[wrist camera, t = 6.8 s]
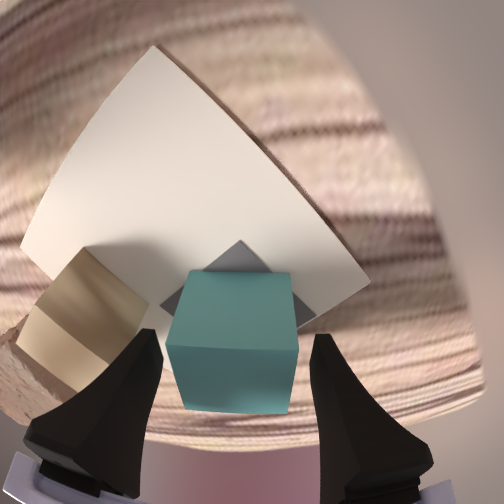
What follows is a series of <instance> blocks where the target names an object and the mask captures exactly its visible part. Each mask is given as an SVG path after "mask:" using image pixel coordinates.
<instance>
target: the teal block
mask: <svg viewBox="0 0 504 504" xmlns="http://www.w3.org/2000/svg"><path fill="white" fill-rule="evenodd" d="M165 346H166V350H167V353H168V357H169V360H170V363H171V367H172V370H173V373H174V376H175V380H176V383H177V386H178V389H179V392H180V395H181V398H182V401H183V404H184V407H185V409H187V410H197V411H209V412H223V413H243V414H287V412H288V407H289V402H290V397H291V391H292V386H293V381H294V375H295V370H296V364H297V359H298V353H299V344H298V335H297V327H296V318H295V310H294V302H293V294H292V286H291V278H290V273H257V272H211V271H189V274H188V277H187V280H186V282H185V285H184V288H183V291H182V294H181V297H180V300H179V303H178V306H177V309H176V312H175V315H174V318H173V321H172V324H171V327H170V330H169V333H168V336H167V339H166V342H165Z"/></svg>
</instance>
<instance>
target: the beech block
mask: <svg viewBox="0 0 504 504" xmlns="http://www.w3.org/2000/svg"><path fill="white" fill-rule="evenodd" d="M148 305H149V304H148V303H147V302H146V301H144V300H143V299H142V298H141V297H139V296H138V295H137V294H136V293H135V292H133V291H132V290H131V289H130V288H129V287H128V286H126V285H125V284H124V283H123V282H122V281H121V280H119V279H118V278H117V277H116V276H115V275H114V274H112V273H111V272H110V271H109V270H108V269H107V268H106V267H105V266H103V265H102V264H101V263H100V262H99V261H98V260H97V259H96V258H95V257H94V256H92V255H91V254H90V253H89V252H88V251H87V250H86V249H85V248H84V247H83V248H82V249H81V250H80V251H79V252H78V253H77V254H76V255H75V256H74V257H73V259H72V260H71V261H70V262H69V263H68V264H67V265H66V267H65V268H64V269H63V270H62V271H61V272H60V274H59V275H58V276H57V277H56V278H55V279H54V281H53V282H52V283H51V284H50V286H49V287H48V288H47V289H46V290H45V292H44V293H43V294H42V295H41V297H40V298H39V299H38V300H37V302H36V303H35V304H34V306H33V308H32V310H31V312H30V314H29V316H28V318H27V320H26V322H25V324H24V326H23V328H22V331H21V333H20V335H19V337H18V339H17V341H16V344H17V345H18V346H19V347H20V348H21V349H23V350H24V351H25V352H26V353H27V354H28V355H30V356H31V357H32V358H33V359H34V360H36V361H37V362H38V363H39V364H40V365H42V366H43V367H44V368H46V369H47V370H48V371H49V372H51V373H52V374H53V375H55V376H56V377H57V378H59V379H60V380H61V381H63V382H64V383H66V384H67V385H68V386H70V387H71V388H73V389H74V390H75V391H77V392H78V393H79V392H80V391H81V390H83V389H84V388H85V387H86V386H88V385H89V384H90V383H91V382H92V381H93V380H95V379H96V378H97V377H98V376H99V375H100V374H101V373H102V372H103V371H104V370H105V369H106V368H107V367H108V366H109V365H110V364H111V363H112V362H113V361H114V360H115V358H116V357H117V356H118V355H119V354H120V353H121V352H122V351H123V350H124V348H125V347H126V346H127V345H128V344H129V343H130V342H131V340H132V339H133V338H134V337H135V335H136V333H137V331H138V328H139V326H140V324H141V321H142V319H143V317H144V314H145V312H146V310H147V308H148Z"/></svg>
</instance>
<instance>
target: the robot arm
mask: <svg viewBox="0 0 504 504" xmlns="http://www.w3.org/2000/svg"><path fill="white" fill-rule="evenodd" d="M163 362H164V357H163V354H162V351H161V348H160V344H159V341H158V338H157V335H156V331H155V329H148V328H142V329H141V330H140V331H139V332H138V333H137V335H136V336H135V337H134V338H133V339H132V340H131V342H130V343H129V344H128V345H127V346H126V347H125V348H124V350H123V351H122V352H121V353H120V354H119V355H118V356H117V357H116V358H115V360H114V361H113V362H112V363H111V364H110V365H109V366H108V367H107V368H106V369H105V370H104V371H103V372H102V373H101V374H100V375H99V376H98V377H97V378H96V379H95V380H93V381H92V382H91V383H90V384H89V385H88V386H86V387H85V388H84V389H83V390H81V391H80V392H79V393H77V394H76V395H75V396H73V397H72V398H70V399H69V400H68V401H66V402H64V403H63V404H61V405H60V406H58V407H56V408H54V409H53V410H51V411H49V412H47V413H45V414H42V415H40V416H38V417H36V418H34V419H32V421H31V423H30V425H29V427H28V429H27V432H26V434H25V436H24V439H23V442H24V444H25V445H26V446H27V447H28V448H29V449H30V450H32V451H33V452H34V453H35V454H36V455H38V456H39V457H41V458H42V459H43V461H42V464H40V463H38V462H36V461H35V460H33V459H31V458H29V457H27V456H25V455H23V454H22V453H20V452H16V454H15V456H14V459H13V462H12V464H11V467H10V470H9V473H8V475H7V479H6V481H5V484H4V487H3V491H4V492H6V493H7V494H9V495H10V496H12V497H14V498H15V499H17V500H18V501H20V502H21V503H23V504H150V503H146V502H141V501H137V500H133V499H136V498H138V497H139V496H140V472H141V459H142V451H143V444H144V437H145V431H146V425H147V421H148V417H149V414H150V411H151V408H152V404H153V401H154V398H155V395H156V392H157V388H158V385H159V382H160V378H161V373H162V368H163ZM309 366H310V382H311V389H312V395H313V400H314V406H315V411H316V417H317V423H318V429H319V442H320V469H321V470H320V473H321V475H320V477H321V479H320V482H321V483H320V485H321V486H320V504H456V500H455V495H454V491H453V487H452V483H451V480H446V481H443V482H441V483H438V484H435V485H432V486H429V487H427V488H424V489H422V490H421V491H419V489H418V485H420V478H419V477H420V476H421V475H422V474H424V473H425V472H426V471H428V470H429V469H430V468H431V467H432V466H433V464H434V462H433V458H432V454H431V452H430V449H429V447H428V445H427V444H426V443H425V442H423V441H422V440H420V439H419V438H417V437H415V436H414V435H413V434H411V433H410V432H409V431H407V430H406V429H405V428H404V427H402V426H401V425H400V424H399V423H398V422H397V421H396V420H394V419H393V418H392V417H391V416H390V415H389V414H388V413H387V412H386V411H385V410H384V409H383V408H382V407H381V406H380V405H379V404H378V403H377V402H376V401H375V400H374V398H373V397H372V396H371V395H370V394H369V393H368V391H367V390H366V389H365V388H364V386H363V385H362V384H361V382H360V381H359V380H358V378H357V377H356V376H355V374H354V373H353V371H352V370H351V368H350V367H349V365H348V364H347V362H346V360H345V359H344V357H343V356H342V354H341V352H340V351H339V349H338V347H337V345H336V343H335V342H334V340H333V338H332V336H331V335H330V334H315V339H314V344H313V349H312V354H311V358H310V363H309Z"/></svg>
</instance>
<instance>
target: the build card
mask: <svg viewBox="0 0 504 504" xmlns="http://www.w3.org/2000/svg"><path fill="white" fill-rule="evenodd" d="M83 247H84V248H85V249H86V250H87V251H88V252H89V253H90V254H91V255H92V256H94V257H95V258H96V259H97V260H98V261H99V262H100V263H101V264H102V265H103V266H105V267H106V268H107V269H108V270H109V271H110V272H111V273H112V274H114V275H115V276H116V277H117V278H118V279H119V280H121V281H122V282H123V283H124V284H125V285H126V286H128V287H129V288H130V289H131V290H132V291H133V292H135V293H136V294H137V295H138V296H139V297H141V298H142V299H143V300H144V301H146V302H147V303H148V304H149V305H148V308H147V310H146V312H145V314H144V317H143V319H142V321H141V324H140V326H139V328H138V331H137V333H138V332H139V331H140V330H141V329H142V328H148V329H155V331H156V335H157V338H158V341H159V344H160V348H161V351H162V354H163V357H164V362H163V367H164V368H166V369H167V370H169V371H170V372H172V373H173V370H172V367H171V363H170V360H169V357H168V353H167V350H166V346H165V342H166V339H167V336H168V333H169V330H170V327H171V324H172V321H173V318H174V315H175V312H176V309H177V306H178V303H179V300H180V297H181V294H182V291H183V288H184V285H185V282H186V280H187V277H188V274H189V271H211V272H257V273H290V278H291V286H292V294H293V302H294V310H295V318H296V327H297V330H298V329H299V328H301V327H303V326H304V325H306V324H308V323H309V322H311V321H312V320H314V319H316V318H317V317H319V316H321V315H322V314H324V313H325V312H327V311H329V310H330V309H332V308H333V307H335V306H336V305H338V304H339V303H341V302H343V301H344V300H346V299H347V298H349V297H350V296H352V295H353V294H355V293H356V292H358V291H359V290H361V289H362V288H364V287H365V286H367V285H368V284H370V283H371V280H370V279H369V277H368V276H367V275H366V273H365V272H364V271H363V269H362V268H361V267H360V265H359V264H358V263H357V262H356V260H355V259H354V258H353V256H352V255H351V254H350V253H349V251H348V250H347V249H346V247H345V246H344V245H343V244H342V242H341V241H340V240H339V239H338V237H337V236H336V235H335V234H334V233H333V231H332V230H331V229H330V228H329V226H328V225H327V224H326V223H325V222H324V220H323V219H322V218H321V217H320V215H319V214H318V213H317V212H316V211H315V210H314V208H313V207H312V206H311V205H310V204H309V202H308V201H307V200H306V199H305V198H304V197H303V195H302V194H301V193H300V192H299V191H298V190H297V188H296V187H295V186H294V185H293V184H292V183H291V182H290V181H289V179H288V178H287V177H286V176H285V175H284V174H283V173H282V172H281V170H280V169H279V168H278V167H277V166H276V165H275V164H274V163H273V162H272V160H271V159H270V158H269V157H268V156H267V155H266V154H265V153H264V152H263V151H262V150H261V148H260V147H259V146H258V145H257V144H256V143H255V142H254V141H253V140H252V139H251V138H250V137H249V136H248V135H247V134H246V133H245V132H244V131H243V129H242V128H241V127H240V126H239V125H238V124H237V123H236V122H235V121H234V120H233V119H232V118H231V117H230V116H229V115H228V114H227V113H226V112H225V111H224V110H223V109H222V108H221V107H220V106H219V105H218V104H217V103H216V102H215V101H214V100H213V99H212V98H211V97H210V96H209V95H208V94H207V93H206V92H205V91H204V90H203V89H202V88H201V87H199V86H198V85H197V84H196V83H195V82H194V81H193V80H192V79H191V78H190V77H189V76H188V75H187V74H186V73H185V72H184V71H182V70H181V69H180V68H179V67H178V66H177V65H176V64H175V63H174V62H173V61H172V60H170V59H169V58H168V57H167V56H166V55H165V54H164V53H163V52H161V51H160V50H159V49H158V48H157V47H156V46H154V45H153V46H152V47H151V48H150V49H149V50H148V51H147V52H146V53H145V54H144V55H143V56H142V57H141V58H140V59H139V60H138V61H137V63H136V64H135V65H134V66H133V67H132V68H131V69H130V70H129V72H128V73H127V74H126V75H125V76H124V77H123V79H122V80H121V81H120V82H119V83H118V85H117V86H116V87H115V88H114V89H113V91H112V92H111V93H110V94H109V96H108V97H107V98H106V100H105V101H104V102H103V103H102V105H101V106H100V107H99V109H98V110H97V111H96V113H95V114H94V116H93V117H92V118H91V120H90V121H89V122H88V124H87V125H86V127H85V128H84V130H83V131H82V133H81V134H80V136H79V137H78V139H77V140H76V142H75V143H74V145H73V146H72V148H71V149H70V151H69V153H68V154H67V156H66V157H65V159H64V161H63V162H62V164H61V166H60V167H59V169H58V171H57V173H56V174H55V176H54V178H53V180H52V181H51V183H50V185H49V187H48V189H47V191H46V192H45V194H44V196H43V198H42V200H41V202H40V204H39V206H38V208H37V210H36V212H35V214H34V216H33V219H32V221H31V223H30V225H29V227H28V229H27V232H26V234H25V236H24V239H23V241H22V243H21V246H20V248H21V249H22V250H23V251H24V252H25V253H26V255H27V256H28V257H29V258H30V259H31V260H32V261H33V262H34V263H35V264H36V265H37V266H38V267H39V268H40V269H42V270H43V271H44V272H45V273H46V274H47V275H48V276H49V277H50V278H51V279H52V280H53V281H54V279H55V278H56V277H57V276H58V275H59V274H60V272H61V271H62V270H63V269H64V268H65V267H66V265H67V264H68V263H69V262H70V261H71V260H72V259H73V257H74V256H75V255H76V254H77V253H78V252H79V251H80V250H81V249H82V248H83ZM137 333H136V335H137ZM136 335H135V336H136ZM173 374H174V373H173Z"/></svg>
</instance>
